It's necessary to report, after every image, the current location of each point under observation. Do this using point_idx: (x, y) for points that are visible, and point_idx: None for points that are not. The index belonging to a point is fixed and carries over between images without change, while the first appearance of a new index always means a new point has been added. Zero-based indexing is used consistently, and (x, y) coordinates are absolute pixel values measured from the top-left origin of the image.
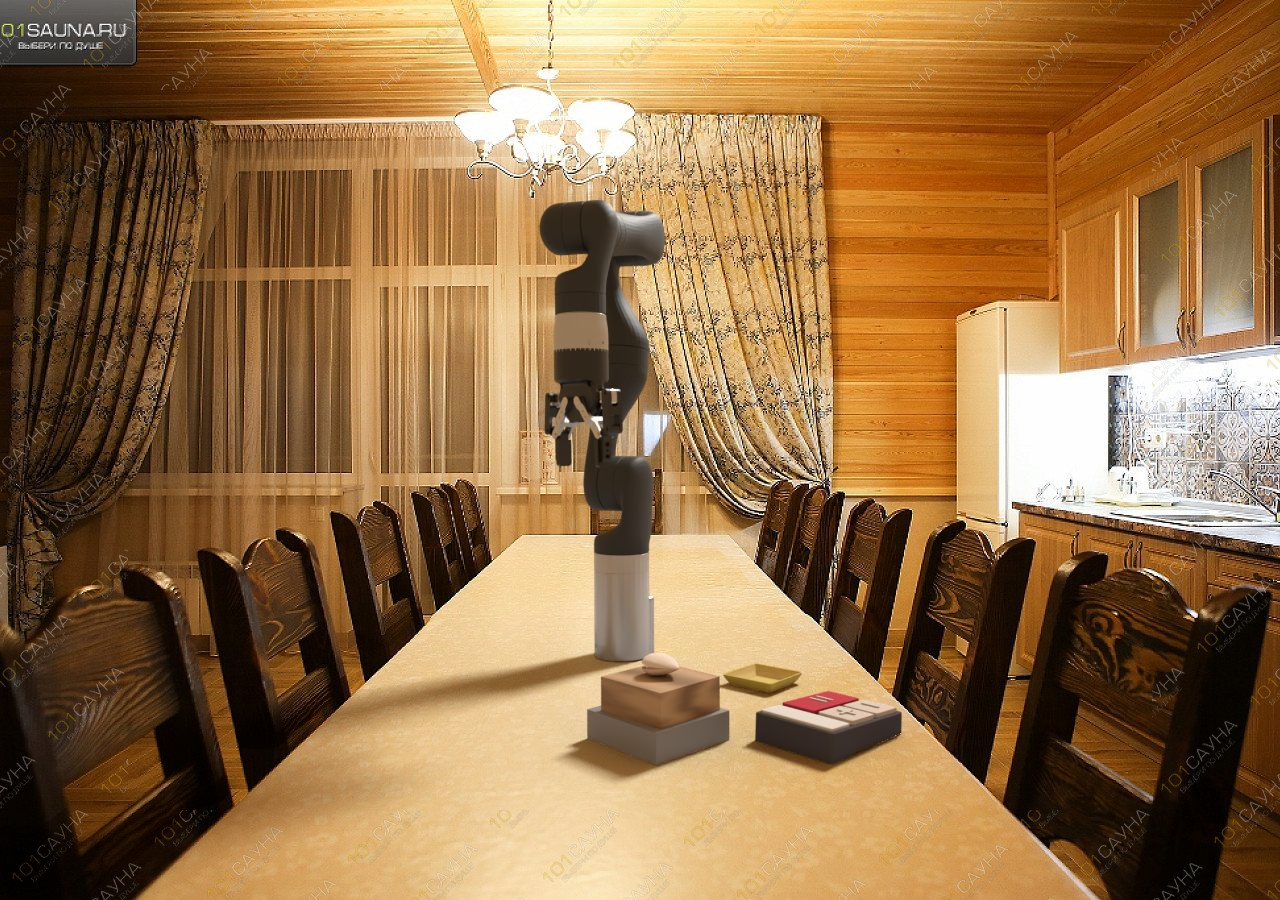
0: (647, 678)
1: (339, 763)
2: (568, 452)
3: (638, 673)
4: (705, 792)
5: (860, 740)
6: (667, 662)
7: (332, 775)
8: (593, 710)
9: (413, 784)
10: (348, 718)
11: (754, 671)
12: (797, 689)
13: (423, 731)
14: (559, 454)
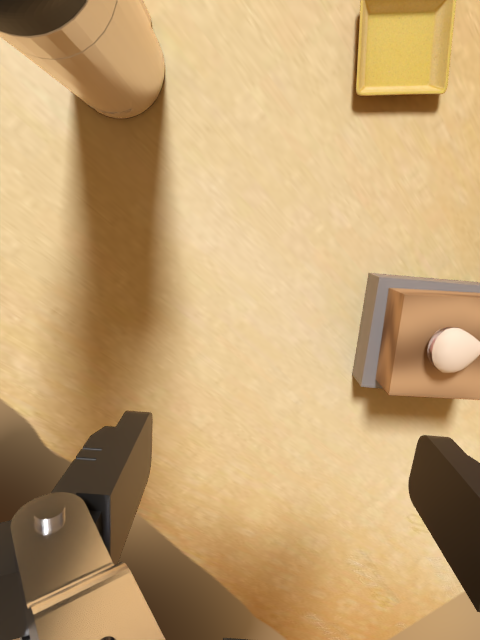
0: None
1: (230, 543)
2: (133, 461)
3: (417, 356)
4: None
5: None
6: (473, 357)
7: (250, 557)
8: (369, 385)
9: (315, 530)
10: None
11: (365, 11)
12: (454, 38)
13: (210, 461)
14: (136, 509)
